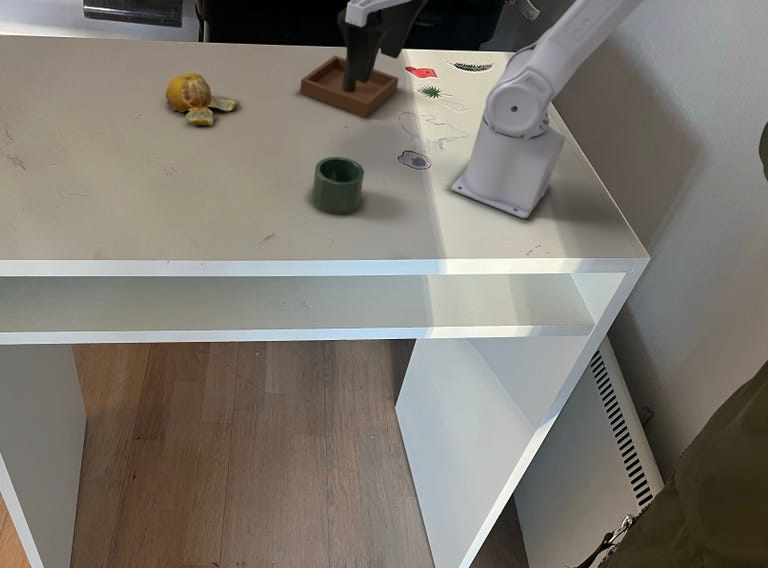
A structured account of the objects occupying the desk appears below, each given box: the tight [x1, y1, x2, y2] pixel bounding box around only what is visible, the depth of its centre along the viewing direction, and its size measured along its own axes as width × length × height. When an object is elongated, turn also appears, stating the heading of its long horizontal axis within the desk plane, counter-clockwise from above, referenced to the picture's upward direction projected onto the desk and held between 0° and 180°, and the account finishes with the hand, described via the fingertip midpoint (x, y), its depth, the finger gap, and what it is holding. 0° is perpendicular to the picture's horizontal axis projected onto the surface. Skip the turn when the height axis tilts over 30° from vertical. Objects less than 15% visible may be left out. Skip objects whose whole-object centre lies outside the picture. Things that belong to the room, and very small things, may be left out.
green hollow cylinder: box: [311, 156, 365, 215], centre depth 85 cm, size 5×5×4 cm
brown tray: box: [299, 55, 399, 119], centre depth 103 cm, size 10×9×2 cm
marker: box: [342, 53, 356, 92], centre depth 100 cm, size 2×2×8 cm
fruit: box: [165, 72, 238, 126], centre depth 97 cm, size 8×8×4 cm
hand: (374, 67), depth 87 cm, fingers open, 7 cm apart
